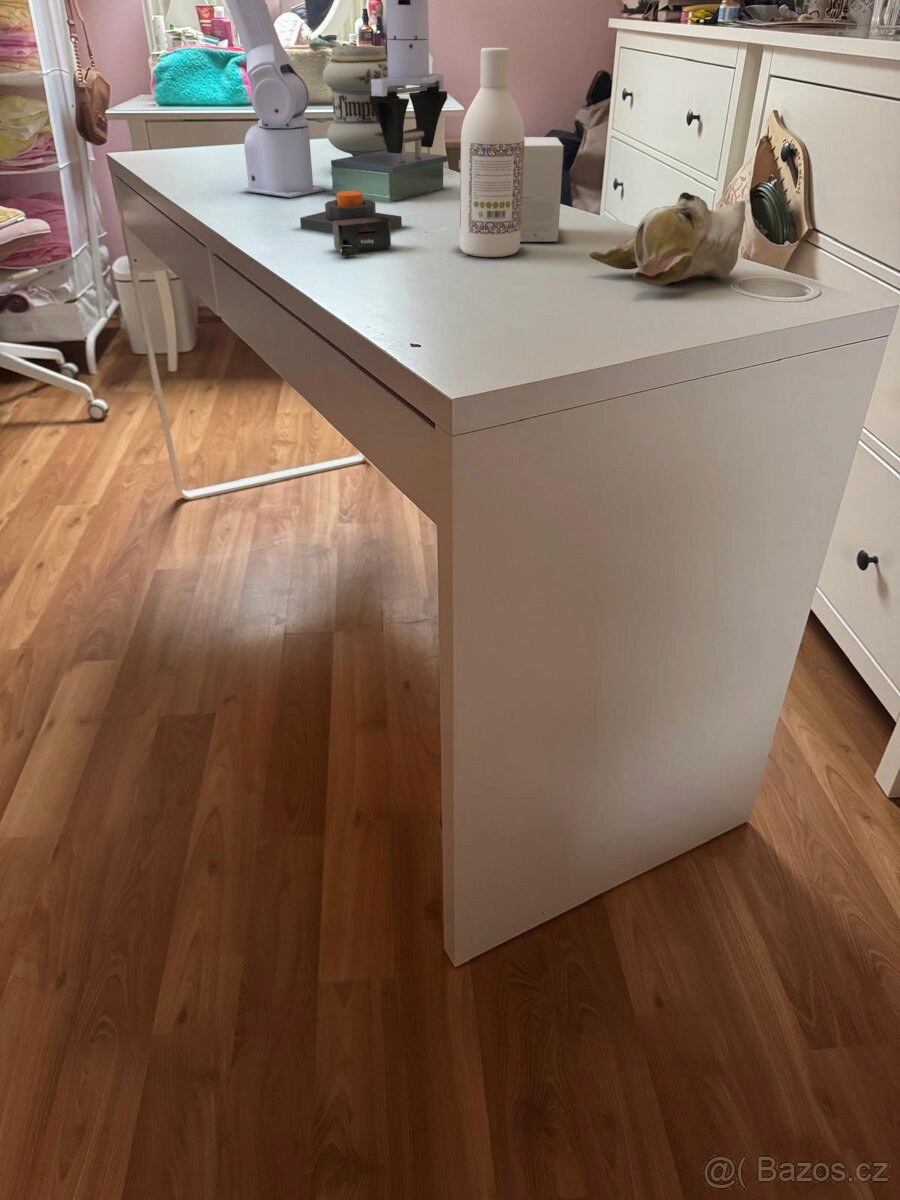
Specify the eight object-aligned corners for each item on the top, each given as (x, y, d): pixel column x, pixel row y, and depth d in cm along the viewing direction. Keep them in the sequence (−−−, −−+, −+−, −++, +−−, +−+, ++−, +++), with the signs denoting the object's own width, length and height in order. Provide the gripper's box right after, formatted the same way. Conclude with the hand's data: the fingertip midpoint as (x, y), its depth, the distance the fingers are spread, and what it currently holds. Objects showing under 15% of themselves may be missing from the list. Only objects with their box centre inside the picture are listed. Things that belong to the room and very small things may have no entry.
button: (332, 207, 112) (331, 193, 111) (348, 202, 114) (347, 189, 113) (352, 209, 110) (351, 196, 109) (368, 205, 112) (367, 192, 111)
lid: (447, 161, 135) (447, 125, 132) (393, 173, 126) (392, 135, 123) (387, 155, 140) (386, 120, 137) (331, 166, 131) (328, 129, 128)
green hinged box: (443, 188, 137) (443, 161, 135) (389, 202, 128) (388, 173, 126) (388, 182, 142) (387, 155, 140) (333, 194, 133) (331, 166, 131)
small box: (558, 243, 107) (564, 145, 101) (511, 242, 107) (515, 145, 101) (553, 228, 113) (558, 136, 108) (508, 228, 114) (512, 135, 108)
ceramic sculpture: (779, 192, 86) (640, 212, 82) (767, 284, 90) (635, 307, 87) (716, 176, 94) (587, 193, 90) (707, 261, 99) (585, 281, 95)
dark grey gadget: (326, 251, 103) (324, 221, 101) (383, 245, 106) (382, 216, 104) (341, 260, 100) (339, 229, 98) (399, 253, 102) (398, 223, 101)
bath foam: (530, 254, 102) (541, 49, 91) (476, 261, 99) (480, 50, 88) (501, 242, 107) (508, 46, 96) (449, 248, 105) (450, 47, 93)
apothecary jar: (339, 165, 157) (331, 44, 147) (406, 166, 155) (403, 44, 145) (321, 176, 147) (312, 47, 137) (393, 177, 145) (389, 48, 135)
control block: (300, 229, 113) (298, 203, 111) (341, 218, 119) (340, 194, 117) (362, 239, 108) (361, 212, 107) (402, 227, 114) (401, 202, 112)
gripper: (399, 41, 115) (402, 158, 123) (461, 38, 125) (460, 146, 133) (356, 40, 119) (362, 153, 126) (420, 37, 129) (422, 142, 136)
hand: (410, 149), depth 130 cm, fingers open, 7 cm apart
